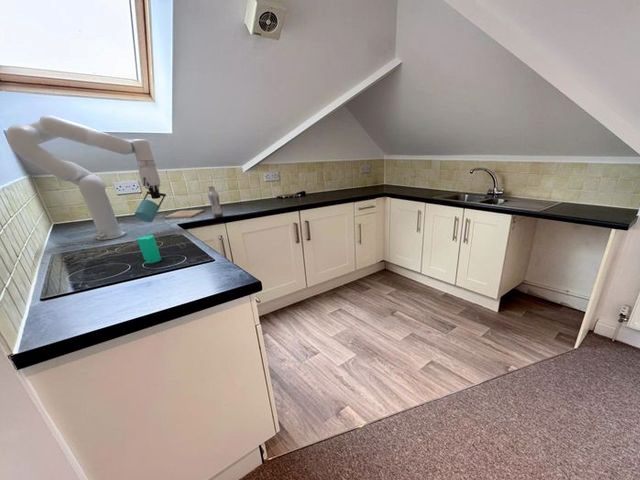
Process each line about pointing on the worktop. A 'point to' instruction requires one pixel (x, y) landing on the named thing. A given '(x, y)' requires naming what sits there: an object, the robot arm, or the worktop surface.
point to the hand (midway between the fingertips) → (156, 198)
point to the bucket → (148, 209)
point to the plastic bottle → (215, 202)
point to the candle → (149, 248)
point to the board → (184, 214)
